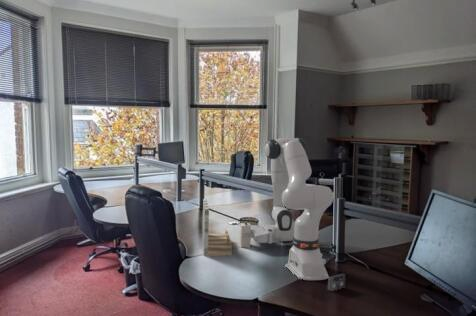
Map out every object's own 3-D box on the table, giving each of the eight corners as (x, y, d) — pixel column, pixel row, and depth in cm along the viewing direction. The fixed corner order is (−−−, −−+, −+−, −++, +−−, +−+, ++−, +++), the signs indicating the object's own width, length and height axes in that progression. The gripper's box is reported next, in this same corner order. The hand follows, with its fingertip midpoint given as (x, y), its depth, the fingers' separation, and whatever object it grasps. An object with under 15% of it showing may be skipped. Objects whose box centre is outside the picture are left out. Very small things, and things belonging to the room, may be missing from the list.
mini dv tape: (342, 286, 155) (343, 273, 154) (344, 288, 154) (345, 274, 153) (327, 290, 151) (328, 276, 150) (329, 292, 150) (330, 277, 149)
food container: (260, 233, 225) (261, 217, 224) (258, 236, 220) (259, 220, 219) (241, 231, 229) (241, 215, 228) (238, 234, 223) (239, 218, 222)
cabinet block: (250, 247, 200) (250, 223, 199) (241, 247, 200) (241, 223, 199) (248, 244, 205) (249, 220, 204) (239, 244, 205) (240, 220, 203)
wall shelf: (231, 255, 188) (232, 209, 185) (203, 255, 186) (204, 209, 183) (226, 240, 211) (227, 199, 209) (202, 240, 209) (203, 199, 207)
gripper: (264, 222, 214) (241, 222, 212) (272, 233, 193) (246, 233, 192) (264, 233, 214) (241, 233, 212) (272, 244, 194) (246, 245, 192)
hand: (243, 233), depth 202 cm, fingers closed on cabinet block, 5 cm apart
